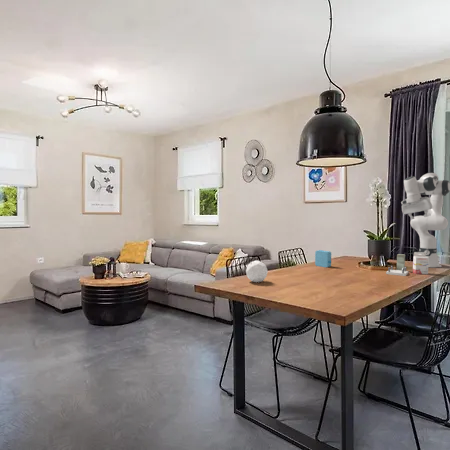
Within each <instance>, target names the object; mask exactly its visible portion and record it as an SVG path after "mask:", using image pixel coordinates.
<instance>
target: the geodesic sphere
mask: <svg viewBox="0 0 450 450" xmlns="http://www.w3.org/2000/svg"><path fill="white" fill-rule="evenodd" d="M245 274H246V276H247V279H249V280H250V281H251V282H253V283H257V282H258V283H260V282H261V283H262V282H264V281H265V279H266V278H267V277H268V268H267V264H265V263H264V262H262V261H260V260H258V259H257V260H256V259H255V260H253V261H250V262H249V264H247V267H246V269H245Z"/></svg>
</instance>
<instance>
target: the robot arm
mask: <svg viewBox="0 0 450 450" xmlns="http://www.w3.org/2000/svg"><path fill="white" fill-rule="evenodd" d="M403 185H404V190H405V193H406V198H405V199H403V200H402V201H401V202H400V203H401V211H402V214H404V215H408V216H409V217H410V222H409V223H410V226H411V228H412V229H413V230H415V231H416V233H417V234H418V236H419V249H418V252H426V257H429V266H428V268H442V267H443V266H442V265H441V264H440V258H439V257H440V256H439V255H438V254H437V253H438V249H437V237H436V236H434V235H432V234H431V233H430V232H429V231H444V230H446V229H447V228H448V227H449V220H448V219H447V218H446V217H445V216H443V215H442V210H443V209H442V208H443V206H444V197H446V196H447V195H448V194H449V193H450V181H449V180H445V179H443V180H439V175H438V174H436V173H435V172H427V173H425V174H423V175H422V176H421V177H420V178H419V179H418V180H417V178H416V177H415V176H409V177H406V178H405V179H403ZM421 195H423V197H422V196H421ZM428 195H429V197H428ZM419 212H424V214H423V215H415V216H413V215H412V214H414V213H419ZM418 255H422V254H420V253H419V254H418Z"/></svg>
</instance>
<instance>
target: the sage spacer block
mask: <svg viewBox="0 0 450 450" xmlns="http://www.w3.org/2000/svg"><path fill="white" fill-rule="evenodd" d="M405 263H406V254H402V253H398V254H396V270H402V269H405V267H406V264H405Z"/></svg>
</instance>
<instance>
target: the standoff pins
mask: <svg viewBox="0 0 450 450" xmlns="http://www.w3.org/2000/svg"><path fill="white" fill-rule="evenodd" d="M390 269H391V270H394V266H393V265H390V267H389V266H388V270H387V271H388V272H390ZM404 271H407V266H405V269H402V273H404Z"/></svg>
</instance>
